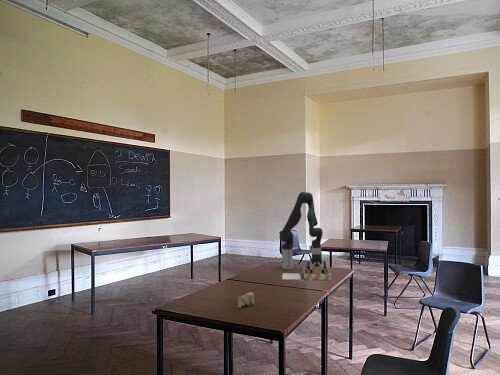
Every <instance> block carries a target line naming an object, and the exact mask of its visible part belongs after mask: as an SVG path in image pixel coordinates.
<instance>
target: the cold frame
mask: <svg viewBox="0 0 500 375" xmlns="http://www.w3.org/2000/svg"><path fill="white" fill-rule="evenodd" d="M302 267H303V270H302V272H303V279H304V281H331V280H332V274H331V272H330V270H329V265H326V268H325V269H324V273H323V274H322V268H321V267H320V274H313V268H312V274H311V273H310V269H308V265H303V266H302ZM309 267H311V265H309ZM322 267H324V265H322Z"/></svg>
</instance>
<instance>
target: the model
mask: <svg viewBox="0 0 500 375" xmlns="http://www.w3.org/2000/svg"><path fill="white" fill-rule="evenodd" d="M237 299H238V301H237V302H238V303H237V305H238V307H240V308H242V307H241V306H243V307H245V306H244V305H246V306H251V305H253V304H254V305H255V294H254V292H252V291H250V292H247V293H245V294H243V295H238V297H237ZM250 303H251V304H250Z"/></svg>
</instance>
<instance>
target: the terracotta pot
mask: <svg viewBox="0 0 500 375" xmlns="http://www.w3.org/2000/svg"><path fill="white" fill-rule="evenodd" d="M313 274H320V266H313Z"/></svg>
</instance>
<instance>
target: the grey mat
mask: <svg viewBox="0 0 500 375" xmlns="http://www.w3.org/2000/svg"><path fill="white" fill-rule="evenodd" d="M281 278H282V279H281V280H282V281H283V280H285V281H286V280H287V281H292V280H293V281H295V280H296V281H301V273H296V272H295V273H294V272H293V273H287V272H286V273H284V272H283V273H282V276H281Z"/></svg>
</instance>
